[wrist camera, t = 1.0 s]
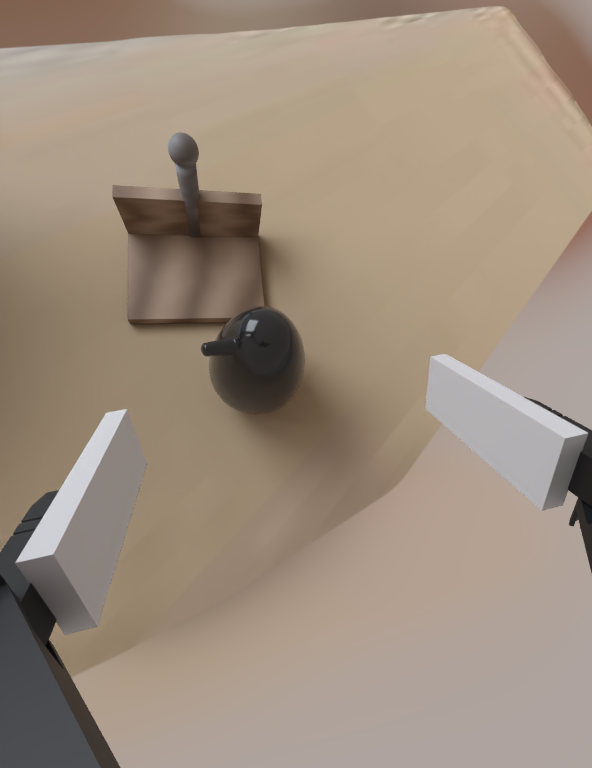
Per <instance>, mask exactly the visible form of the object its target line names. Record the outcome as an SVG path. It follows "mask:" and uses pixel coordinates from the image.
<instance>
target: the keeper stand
mask: <svg viewBox="0 0 592 768" xmlns="http://www.w3.org/2000/svg"><path fill="white" fill-rule="evenodd" d="M168 151H169V155H170V157H171V159H172V160H173V161H174V163H175V166H176V171H177V177H178V182H179V187H180V189H167V188H150V187H133V186H116V185H113V199H114V201H115V204H116V206H117V208H118V211H119V213H120V215H121V217H122V220H123V222H124V224H125V227H126V229H127V231H128V321H129V322H130V324H146V323H196V322H229V321H230V320H231V319H232V318H233V317H234V316H235V315H237V314H238V313H240V312H242V311H243V310H246V309H248V308H252V307H257V306H264V297H263V286H262V275H261V265H260V254H259V243H258V233H259V225H260V216H261V207H262V202H261V194H253V193H236V192H219V191H202V190H199V188H198V179H197V170H196V162H197V160H198V156H199V151H198V147H197V144H196V142H195V141H194V140H193V138H192V137H190V136H189V135H188V134H185V133H176V134H174V135H173V136H172V137H171V138H170V140H169V143H168Z"/></svg>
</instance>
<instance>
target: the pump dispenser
mask: <svg viewBox="0 0 592 768" xmlns="http://www.w3.org/2000/svg"><path fill="white" fill-rule="evenodd" d="M201 351H202V354H203V355H204V356H210V360H209V373H210V378H211V382H212V385H213V387H214V389H215V391H216V393H217V394H218V395H219V397H220V398H221V399H222V400H223V401H224V402H225V403H226V404H228V405H229V406H230V407H232V408H234V409H236V410H238V411H241V412H244V413H249V414H264V413H269V412H272V411H274V410H277V409H279V408H280V407H282V406H283V405H285V404H286V403H287V402H288V401H289V400H290V399H291V398H292V397H293V395H294V394H295V393H296V391H297V389H298V387H299V385H300V382H301V379H302V376H303V371H304V364H305V354H304V347H303V343H302V339H301V337H300V334H299V332H298V330H297V328H296V327H295V325H294V324H293V322H292V321H291V320H290V319H289V318H288V317H287V316H286V315H285V314H284V313H282V312H281V311H279V310H277V309H274V308H271V307H266V306H257V307H252V308H248V309H246V310H243V311H242V312H240V313H238V314H237V315H235V316H234V317H233V318H232V319H231V320H230V321H229V322H228V323H227V324H226V325H225V326H224V327H223V328H222V330H221V331H220V333H219V334H218V336H217V338H216V340H215V341H213V342H207V343H203V344H202V346H201Z"/></svg>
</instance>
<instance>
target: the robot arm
mask: <svg viewBox="0 0 592 768" xmlns="http://www.w3.org/2000/svg"><path fill="white" fill-rule="evenodd" d="M426 410H427V411H428V412H430V413H431V414H432V415H433V416H434V417H435V418H436V419H438V420H439V421H440V422H441V423H442V424H443V425H444V426H446V427H447V428H448V429H449V430H450V431H451V432H453V433H454V434H455V435H456V436H457V437H458V438H459V439H460V440H462V441H463V442H464V443H465V444H466V445H467V446H468V447H470V448H471V449H472V450H473V451H474V452H475V453H476V454H478V455H479V456H480V457H481V458H482V459H483V460H484V461H486V462H487V463H488V464H489V465H490V466H491V467H493V468H494V469H495V470H496V471H497V472H498V473H499V474H501V475H502V476H503V477H504V478H505V479H506V480H507V481H509V482H510V483H511V484H512V485H513V486H514V487H516V488H517V489H518V490H519V491H520V492H521V493H523V495H525V496H526V497H527V498H528V499H529V500H530V501H531V502H533V503H534V504H535V505H536V506H537V507H538V508H539V509H541V510H546V509H550V508H554V507H558V506H562V505H563V503H564V500H565V498H566V495H567V492H568V490H569V491H570V492H572V493H573V494H575V495H576V496H577V497H578V500H577V502H576V505H575V508H574V510H573V513H572V515H571V518H570V522H569V525H570V526H574V524H575V521H577V520H579V523H580V528H581V531H582V536H583V539H584V544H585V548H586V552H587V556H588V560H589V564H590V568H591V572H592V430H590V429H588V428H586V427H584V426H583V425H581V424H579V423H577V422H575V421H574V420H572V419H570V418H568V417H566V416H563V415H562V414H561V413H559V412H557V411H555V410H552V409H551V408H549V407H548V406H546V405H544V404H542V403H540V402H538V401H535V400H532V399H529V398H526V397H523V396H521V395H519V394H517V393H515V392H513V391H511V390H510V389H508V388H506V387H504V386H503V385H501V384H499V383H497V382H495V381H494V380H492V379H490V378H488V377H486V376H485V375H483V374H481V373H479V372H477V371H476V370H474V369H472V368H470V367H468V366H466V365H465V364H463V363H461V362H459V361H457V360H456V359H454V358H452V357H450V356H448V355H447V354H443V355H437V356H431V357H430V366H429V377H428V387H427V398H426ZM146 465H147V463H146V460H145V457H144V455H143V452H142V449H141V446H140V444H139V441H138V438H137V435H136V432H135V430H134V427H133V424H132V421H131V419H130V416H129V413H128V410H127V409H124V410H119V411H113V412H107V413H106V414H105V416H104V418H103V419H102V421H101V423H100V424H99V426H98V427H97V429H96V431H95V432H94V434H93V436H92V437H91V439H90V441H89V442H88V444H87V446H86V447H85V449H84V450H83V452H82V454H81V455H80V457H79V459H78V460H77V462H76V464H75V465H74V467H73V469H72V470H71V472H70V473H69V475H68V477H67V478H66V480H65V482H64V483H63V485H62V487H61V488H60V490H58V491H53V492H48V493H46V494H45V495H44V496H43V497H41V498H40V499H39V500H38V501H37V502H36V503H35V504H34V505H32V506H31V508H30V509H29V511H28V512H27V514H26V515H25V517H24V518H23V520H22V521H21V522H22V523H21V524H19V525H18V527H17V528H16V530H15V531H14V533H13V536H11V537H10V539H9V540H8V542H7V543H6V545H5V546H4V548H3V549H2V551H1V552H0V768H120V766H119V765H118V762H117V761H116V759H115V757H114V755H113V753H112V751H111V750H110V748H109V746H108V744H107V742H106V741H105V739H104V737H103V735H102V733H101V731H100V730H99V728H98V726H97V724H96V722H95V721H94V719H93V717H92V715H91V713H90V711H89V710H88V708H87V706H86V704H85V702H84V700H83V699H82V697H81V695H80V693H79V691H78V690H77V688H76V686H75V684H74V682H73V680H72V679H71V677H70V675H69V673H68V671H67V669H66V668H65V666H64V664H63V662H62V660H61V659H60V657H59V655H58V653H57V651H56V649H55V648H54V646H53V644H52V643H51V642H50V640H49V637H50V635H51V632H52V630H53V628H54V625H55V623H56V622H57V624H58V625H59V627H60V628H61V630H62V631H63V632H64V634H65V635H67V634H71V633H75V632H78V631H82V630H86V629H90V628H94V627H97V626H98V623H99V620H100V617H101V613H102V610H103V607H104V603H105V600H106V597H107V594H108V590H109V587H110V584H111V580H112V577H113V574H114V571H115V567H116V564H117V561H118V557H119V554H120V551H121V548H122V544H123V541H124V538H125V534H126V531H127V528H128V525H129V521H130V518H131V515H132V511H133V508H134V505H135V502H136V498H137V495H138V492H139V488H140V485H141V482H142V478H143V475H144V472H145V469H146Z"/></svg>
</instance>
